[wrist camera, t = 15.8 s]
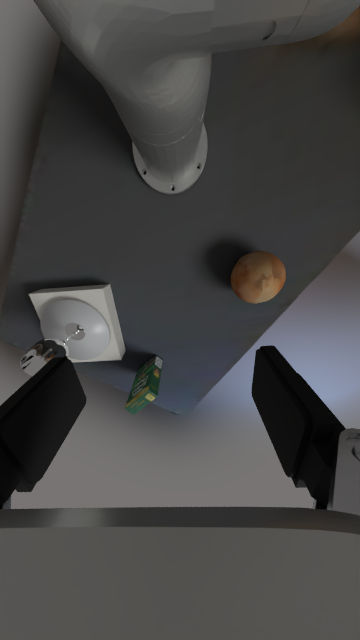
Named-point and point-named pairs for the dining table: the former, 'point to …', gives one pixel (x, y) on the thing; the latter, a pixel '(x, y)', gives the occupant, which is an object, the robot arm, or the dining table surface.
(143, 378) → the coffee box
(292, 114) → the dining table surface
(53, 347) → the wineglass
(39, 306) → the kitchen scale
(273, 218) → the dining table surface
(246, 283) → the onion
